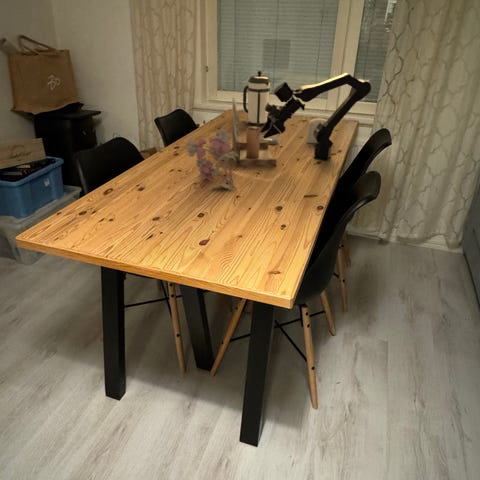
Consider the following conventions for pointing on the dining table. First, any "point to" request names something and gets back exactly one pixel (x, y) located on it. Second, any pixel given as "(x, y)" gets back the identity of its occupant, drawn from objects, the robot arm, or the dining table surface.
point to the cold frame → (240, 147)
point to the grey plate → (270, 140)
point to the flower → (219, 152)
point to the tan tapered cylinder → (253, 142)
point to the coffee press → (257, 98)
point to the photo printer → (312, 125)
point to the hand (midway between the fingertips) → (262, 134)
